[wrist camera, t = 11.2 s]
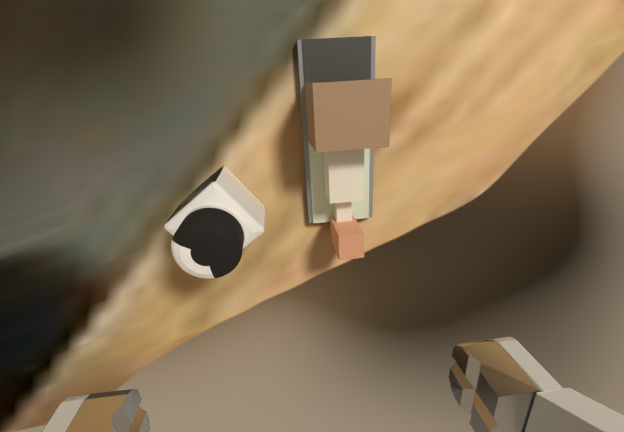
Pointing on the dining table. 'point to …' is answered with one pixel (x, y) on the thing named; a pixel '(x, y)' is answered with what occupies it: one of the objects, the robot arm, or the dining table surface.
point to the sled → (345, 200)
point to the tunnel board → (340, 113)
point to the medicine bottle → (215, 226)
